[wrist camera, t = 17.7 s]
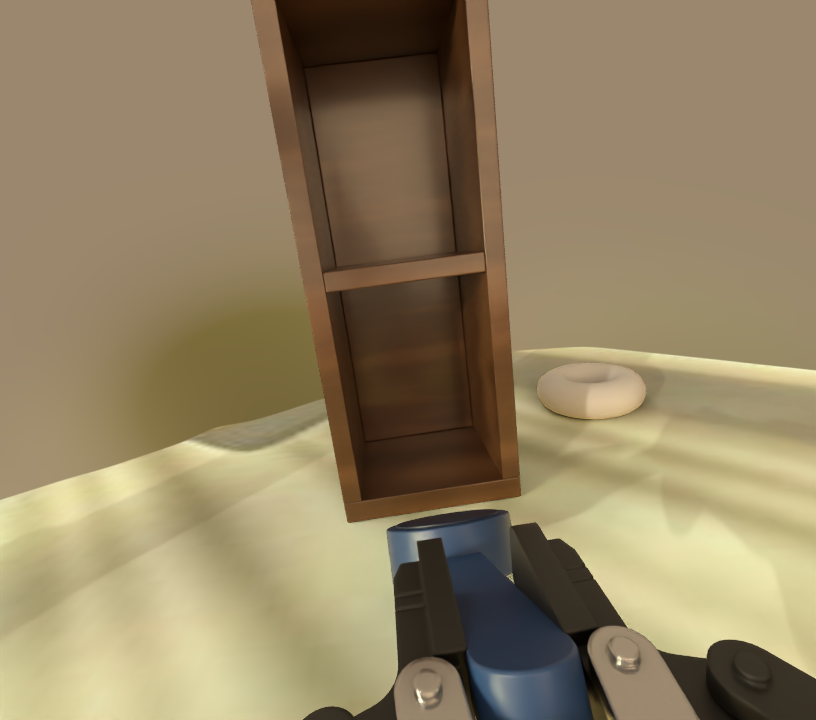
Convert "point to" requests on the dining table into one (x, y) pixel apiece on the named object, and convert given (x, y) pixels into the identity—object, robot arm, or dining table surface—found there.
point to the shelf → (399, 242)
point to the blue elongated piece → (499, 621)
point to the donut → (591, 390)
